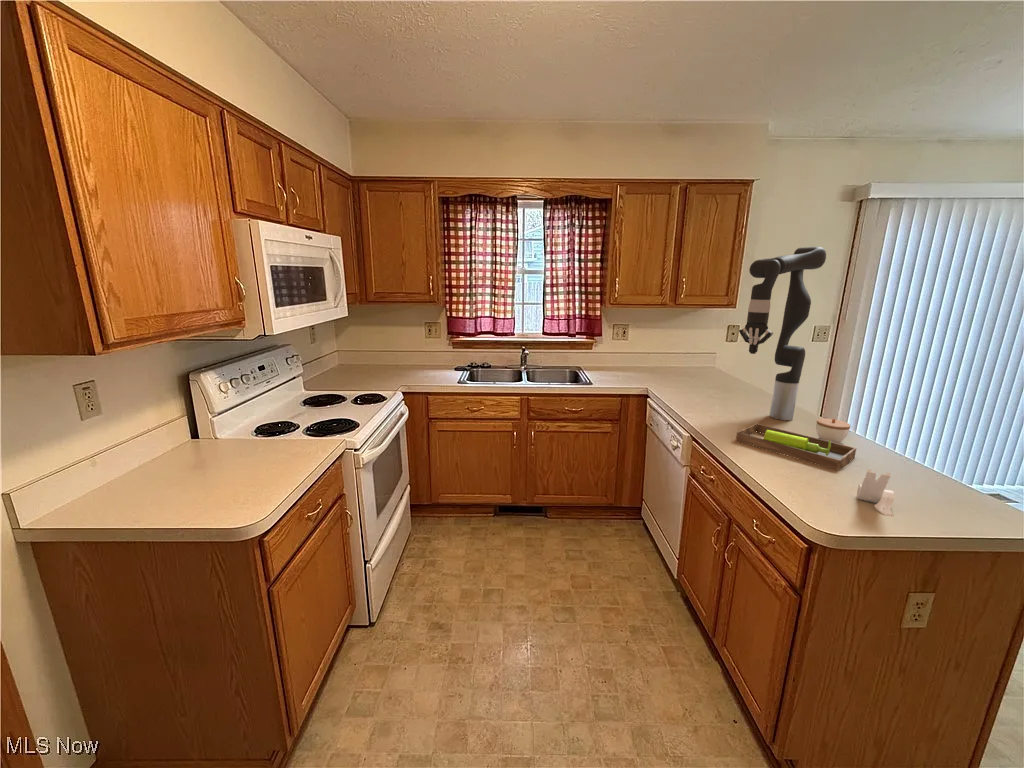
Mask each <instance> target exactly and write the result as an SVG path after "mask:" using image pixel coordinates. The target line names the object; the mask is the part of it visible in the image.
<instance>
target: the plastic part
mask: <svg viewBox="0 0 1024 768" xmlns="http://www.w3.org/2000/svg"><path fill="white" fill-rule="evenodd" d="M876 477H877V474H876V472H874V471H872V469H867V471H866V474H865V477H864V479H863V482H862V484H860V483H859V484H858V487H857V490H856V491H857V492H856V498H857V500H862V501H865V502H870V503H874V509H875V510H876V511H877V512H878V513H880V514H881V515H885V516H889V517H894V514H893V512H892V510H891V508H892V505H893V503H894V501H895V493H894V492H895V491H893V490H890V489H886V488H887V485H888V483H889V480H890V478H891V473H889V472H886V473H884V474H883V473H882V474H881V475H880V476H879V477H878V479H876Z"/></svg>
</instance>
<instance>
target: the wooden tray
mask: <svg viewBox="0 0 1024 768" xmlns="http://www.w3.org/2000/svg"><path fill="white" fill-rule="evenodd" d="M767 430H772V431H776V432H781V433H785V434H790V435H794V436H799V437H803V438H808V440H809V442H810V443H814V444H819V446H820V447H821V448H826V449H827V448H828V444H829V441H826V440H822V439H820V438H817V437H812V436H808V435H804V434H801V433H796V432H792V431H789V430H785V429H781V428H777V427H774V426H769V425H764V424H761V423H754V424H752V425H751V426H748V427H746V428H743V429H742V430H739V431H737V432H736V435H735V441H736V442H738V441H739V442H740V443H741V442H743V443H742V444H745V443H746V444H745V445H748V444H750V446H752V445H754V446H753V447H755V446H757V447H756V448H759V447H760V449H762V448H763V450H766V449H767V450H766V451H769V450H771V451H770V452H773V451H774V453H776V452H777V454H780V453H781V454H780V455H783V454H785V455H784V456H787V455H788V456H787V457H790V456H791V457H790V458H794V457H795V459H797V458H798V460H801V461H804V460H805V462H808V463H811V462H812V464H815V463H816V465H818V464H819V466H822V467H825V466H826V468H828V467H829V469H833V470H835V469H836V471H840V470H841V469H842V468H843V467H845V466H846V465H847V464H848V463H849V462H851V461H852V460H853V459H854V458H855V456H856V453H857V448H856V447H854V446H850V445H849V446H848V445H845V444H841V443H839V444H838V443H834V442H831V449H830V452H829V455H828V456H827V455H826V453H822V452H818V453H817V454H816V453H813V452H809V451H805V450H802V449H798V448H794V447H791V446H787V445H783V444H779V443H776V442H772V441H768V440H765V439H764V438H761V437H757V436H754V435H753V434H755V433H754V432H756V431H757V432H756V433H758V432H761V433H760V434H762V433H764V434H763V435H765V432H766V431H767ZM752 433H753V434H752ZM750 434H751V435H750ZM851 459H852V460H851ZM850 460H851V461H850ZM845 464H846V465H845Z"/></svg>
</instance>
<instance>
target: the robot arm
mask: <svg viewBox="0 0 1024 768" xmlns="http://www.w3.org/2000/svg"><path fill="white" fill-rule="evenodd" d="M826 260H827V252H826V249H824V248H823V247H821V246H811V247H810V246H808V247H807V246H806V247H798V248H796V249H795V251H794V252H793V254H785V255H779V256H776V257H773V258H772V257H770V258H762V259H757V260H755V261H753V262H752V263H751V264H750V266H749V271H748V272H749V274H750V276H752V277H754V278H756V279H764V280H763V281H762V282H761V283H756V284H754V285H752V287H751V294H750V301H749V304H748V309H747V317H746V323H745V326H744V327H743V328H742V329H739V330H738V332H739V334H740V336H741V337H742V338H743V341H744V342H745V343H748V345H749V347H748V352H749V354H750V355H751V354H752V355H755V354H756V353H758V349H759V345H761V344H764V343H765V342H767V340H769V339H770V338H771V337H772V336H773V335H774V332H773V331H771V330H770V329H769V327H768V323H769V318H770V312H771V311H770V310H771V299H772V293H773V292H772V291H773V288H774V286H775V283H776V281H777V279H778V277H779V275H782V274H786V273H790V277H789V285H788V292H787V298H786V302H785V306H784V311H783V318H782V326H781V329H780V334H779V337H778V342H777V344H776V349H775V352H774V363H775V364H776V365H777V366H782V367H783V366H784V367H790V370H789V371H786V372H779V373H777V374H776V375H775V380H774V384H773V385H774V386H773V393H772V399H771V404H770V409H769V410H770V411H769V417H770V416H771V417H772V419H774V418H775V419H774V420H778V419H780V420H779V421H785V420H789V421H792V419H794V413H795V408H796V403H797V398H798V391H799V385H800V379H801V375H802V371H803V366H804V362H805V358H806V349H805V348H804V347H803V346H795V345H789V342H790V340H791V338H792V336H793V335H794V333H795V332H796V331H797V330H798V329H799V328H800V327H801V326H802V324H804V322H806V320H807V319H808V318H809V315H810V309H811V305H812V300H811V296H810V294H809V292H808V290H807V288H806V286H805V283H804V271H805V270H817V269H820V268H822V266H823V265H824V264H825V262H826ZM763 335H764V336H763ZM771 417H770V418H771Z"/></svg>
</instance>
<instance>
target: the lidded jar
mask: <svg viewBox="0 0 1024 768" xmlns="http://www.w3.org/2000/svg"><path fill="white" fill-rule="evenodd" d="M815 425H816V426H815V431H816V434H817V437H818V439H822V440H826V441H829V440H830V441H831V442H834V443H838V444H840V443H841V442H843V441H844V440H846V439H847V437H848V435H849V432H850V429H851V424H850V423H849V422H846V421H843V420H840V419H837V418H836V417H835V418H834V417H832V418H827V417H826V418H824V417H823V418H818V419H817V420H816V424H815Z"/></svg>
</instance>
